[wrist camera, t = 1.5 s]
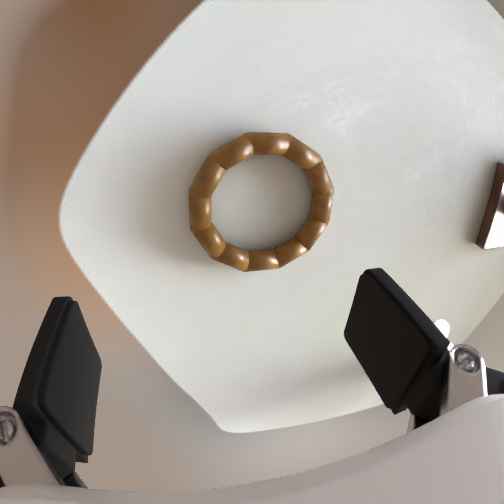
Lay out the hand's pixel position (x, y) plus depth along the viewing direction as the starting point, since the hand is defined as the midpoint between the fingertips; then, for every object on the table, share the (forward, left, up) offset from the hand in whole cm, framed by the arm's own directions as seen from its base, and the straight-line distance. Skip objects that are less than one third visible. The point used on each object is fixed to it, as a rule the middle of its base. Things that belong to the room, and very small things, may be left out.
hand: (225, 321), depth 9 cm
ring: (0, +3, -9) cm, 9 cm away
